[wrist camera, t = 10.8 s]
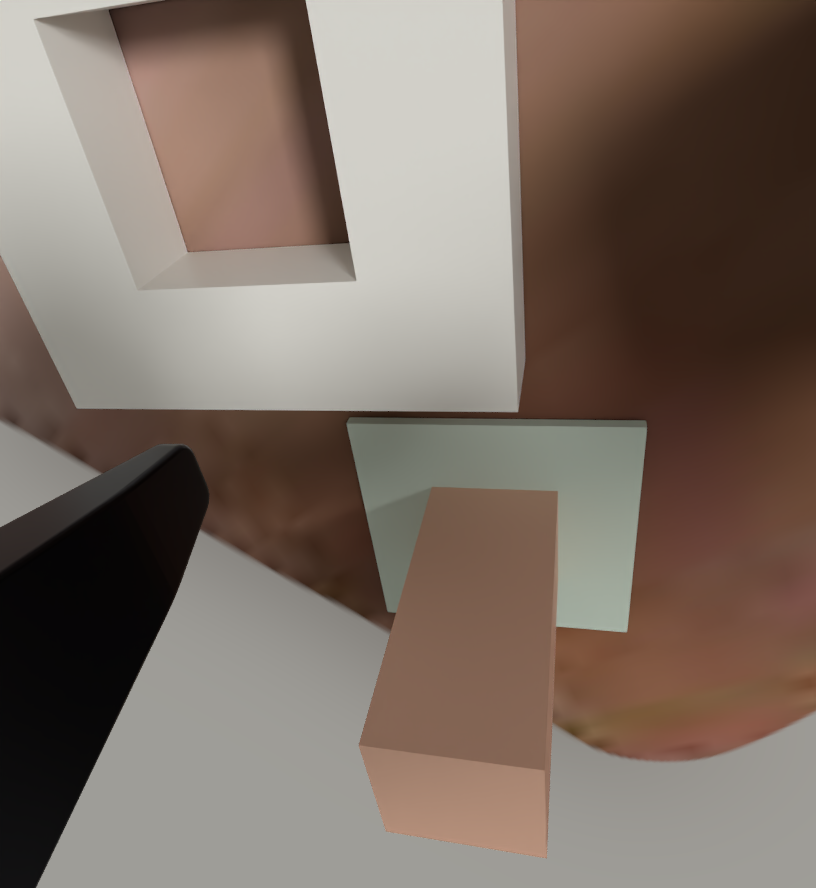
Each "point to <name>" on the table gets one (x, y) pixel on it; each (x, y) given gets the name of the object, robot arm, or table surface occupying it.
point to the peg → (471, 675)
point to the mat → (517, 468)
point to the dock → (278, 268)
